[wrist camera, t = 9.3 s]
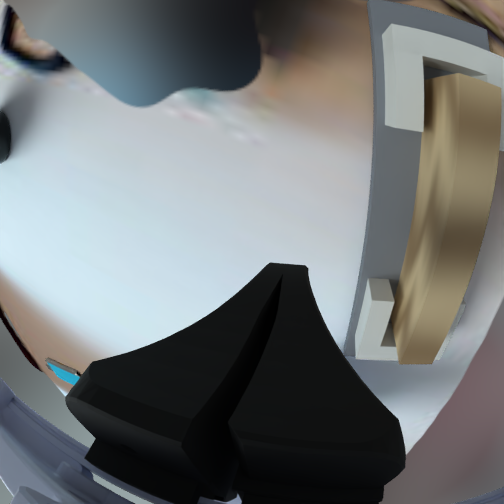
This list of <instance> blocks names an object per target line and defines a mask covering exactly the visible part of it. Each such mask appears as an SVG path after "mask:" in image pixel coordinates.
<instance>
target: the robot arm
mask: <svg viewBox="0 0 504 504" xmlns="http://www.w3.org/2000/svg"><path fill="white" fill-rule="evenodd" d="M65 401H66V405H67V407H68V409H69V410H70V412H71V413H72V414H73V415H74V416H75V417H76V418H77V420H78V421H79V422H80V423H81V424H82V425H83V426H84V427H85V428H86V429H87V430H88V431H89V432H90V433H91V434H92V435H93V436H94V437H95V438H96V439H95V441H94V443H93V444H92V446H91V448H88V447H86V446H85V445H83V444H82V443H80V442H78V441H76V440H75V439H74V438H72V437H70V436H69V435H67V434H66V433H64V432H63V431H61V430H60V429H58V428H57V427H55V426H54V425H53V424H51V423H50V422H49V421H47V420H46V419H44V418H43V417H42V416H40V415H39V414H38V413H37V412H35V411H34V410H33V409H31V408H30V407H29V406H28V405H26V404H25V403H24V402H23V401H22V400H20V399H19V398H18V397H17V396H16V395H15V394H14V392H13V391H12V390H11V389H10V387H9V386H8V385H7V384H6V383H5V382H4V381H3V379H1V377H0V478H1V479H2V481H3V483H4V484H5V485H6V487H7V488H8V490H9V491H10V493H11V494H12V495H13V499H12V500H11V502H10V504H135V503H133V502H131V501H129V500H127V499H125V498H123V497H121V496H119V495H118V494H116V493H114V492H112V491H111V490H109V489H107V488H105V487H104V486H102V485H100V484H99V483H97V482H95V481H94V480H93V475H92V472H93V473H94V474H96V475H98V476H99V477H101V478H103V479H105V480H106V481H108V482H110V483H112V484H114V485H116V486H118V487H119V488H121V489H123V490H125V491H127V492H129V493H131V494H134V495H136V496H138V497H140V498H142V499H144V500H147V501H149V502H151V503H154V504H379V502H381V501H382V499H383V492H384V485H386V484H387V483H388V482H390V481H391V480H392V479H394V478H395V477H396V476H398V475H399V474H400V472H401V471H402V470H403V469H404V468H405V460H406V452H405V445H404V440H403V435H402V431H401V427H400V423H399V420H398V418H396V417H395V416H394V415H393V414H392V413H391V412H390V411H389V410H388V409H387V408H386V407H385V406H384V405H383V404H382V402H381V401H380V400H379V399H378V398H377V397H376V396H375V395H374V394H373V393H372V392H371V390H370V389H369V388H368V387H367V386H366V384H365V383H364V382H363V381H362V380H361V378H360V377H359V376H358V374H357V373H356V372H355V370H354V369H353V368H352V366H351V365H350V364H349V362H348V361H347V359H346V358H345V357H344V355H343V354H342V352H341V350H340V349H339V347H338V346H337V344H336V342H335V341H334V339H333V337H332V335H331V334H330V332H329V330H328V328H327V326H326V324H325V322H324V320H323V318H322V315H321V313H320V311H319V308H318V306H317V303H316V301H315V298H314V295H313V292H312V289H311V285H310V281H309V276H308V268H307V267H306V266H305V265H293V264H280V263H269V264H268V265H266V266H265V267H264V268H263V269H262V270H261V271H260V272H259V273H258V274H257V275H256V276H255V277H254V278H253V279H252V280H251V281H250V282H249V283H248V284H247V285H245V286H244V287H243V288H242V289H241V290H240V291H239V292H238V293H236V294H235V295H234V296H233V297H232V298H230V299H229V300H228V301H226V302H225V303H224V304H223V305H221V306H220V307H219V308H217V309H216V310H215V311H213V312H212V313H210V314H209V315H207V316H206V317H204V318H202V319H201V320H199V321H197V322H196V323H194V324H192V325H191V326H189V327H187V328H185V329H183V330H181V331H179V332H177V333H175V334H173V335H171V336H169V337H167V338H165V339H162V340H160V341H157V342H155V343H153V344H150V345H148V346H145V347H142V348H139V349H137V350H134V351H131V352H128V353H124V354H121V355H117V356H113V357H110V358H106V359H102V360H98V361H93V362H92V363H91V364H90V365H89V366H88V368H87V369H86V370H85V372H84V373H83V374H82V376H81V377H80V378H79V380H78V381H77V382H76V384H75V385H74V386H73V388H72V389H71V390H70V392H69V393H68V394H67V396H66V400H65ZM90 471H91V472H90ZM453 504H504V487H502V488H499V489H497V490H494V491H492V492H489V493H486V494H483V495H480V496H477V497H474V498H471V499H467V500H464V501H460V502H457V503H453Z"/></svg>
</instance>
